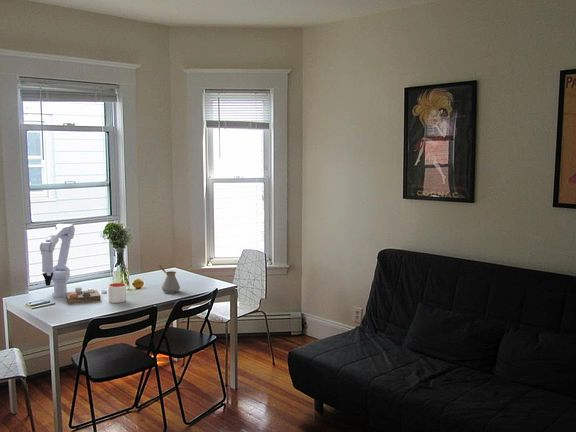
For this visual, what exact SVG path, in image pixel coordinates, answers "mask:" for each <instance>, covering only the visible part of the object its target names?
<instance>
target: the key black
mask: <svg viewBox="0 0 576 432" xmlns="http://www.w3.org/2000/svg"><path fill="white" fill-rule="evenodd" d="M84 291H85V292H83V297H84V296H90V294H89V291H88V290H84Z"/></svg>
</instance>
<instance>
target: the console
mask: <svg viewBox="0 0 576 432" xmlns="http://www.w3.org/2000/svg"><path fill="white" fill-rule="evenodd" d="M85 291H86V290H82V294H77V297H73V298H71V293H74V292H75V291H67V292H66V293H65V296H64V297H65V300H66V303H67V304H68V305H77V304H89V303H94V302H95V303H97V302H98V303H99V302H102V301H101V298H102V297H101V293H100V292H99V290H97V289H94V293H89V294H90V296H84V297H83V292H85ZM75 293H76V292H75Z"/></svg>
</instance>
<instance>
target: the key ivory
mask: <svg viewBox="0 0 576 432" xmlns="http://www.w3.org/2000/svg"><path fill="white" fill-rule="evenodd" d="M94 290H95V289H94V287H89V288H87V291H89V293H94Z"/></svg>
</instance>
